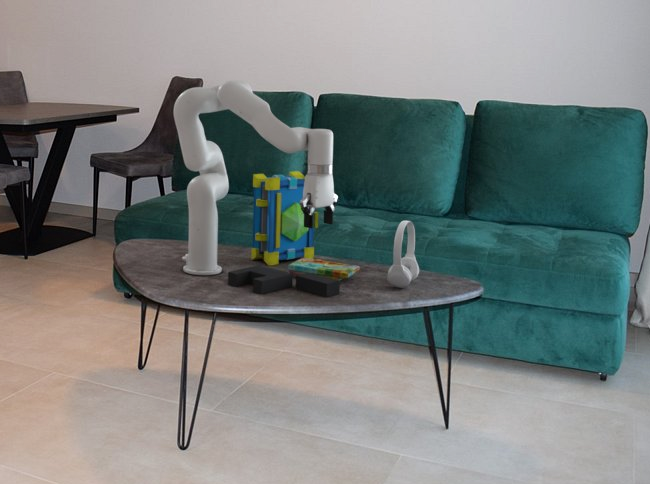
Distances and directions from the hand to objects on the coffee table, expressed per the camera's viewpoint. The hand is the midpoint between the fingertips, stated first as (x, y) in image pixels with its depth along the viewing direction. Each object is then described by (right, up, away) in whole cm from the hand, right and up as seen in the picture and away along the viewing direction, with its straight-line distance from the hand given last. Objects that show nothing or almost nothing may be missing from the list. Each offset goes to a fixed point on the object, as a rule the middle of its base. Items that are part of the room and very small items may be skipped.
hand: (318, 225), depth 249 cm
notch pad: (-18, -19, +2) cm, 26 cm away
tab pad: (-1, -19, -3) cm, 20 cm away
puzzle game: (+4, -18, +13) cm, 23 cm away
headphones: (+27, -19, +6) cm, 34 cm away
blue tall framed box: (-7, -16, +37) cm, 41 cm away
